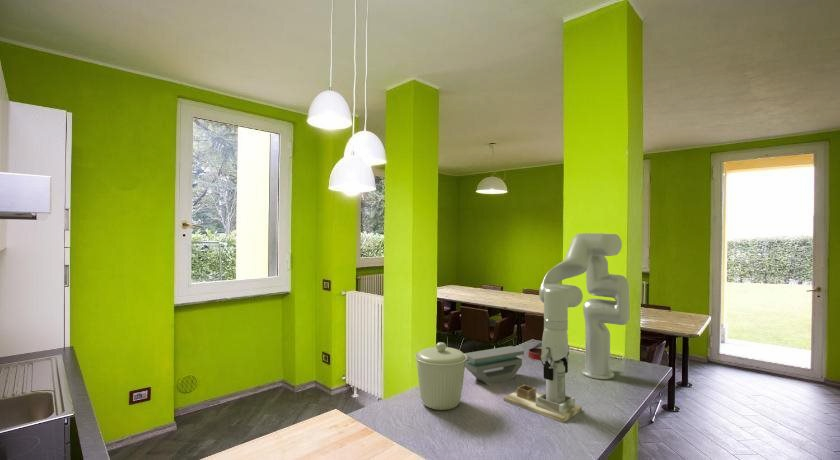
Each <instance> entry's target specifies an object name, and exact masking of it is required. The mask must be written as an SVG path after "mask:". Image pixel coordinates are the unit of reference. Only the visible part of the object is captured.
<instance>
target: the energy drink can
mask: <svg viewBox="0 0 840 460" xmlns="http://www.w3.org/2000/svg"><path fill="white" fill-rule="evenodd" d="M548 362H549V364H550V362H551V361H548ZM552 368H553V380H552V381H551V380H547V379H545V392H546V400H549V401H552V402H555V403H558V404H562V403H563V402H565V395H566V373H565V366H564V364H563V361H562V360H557V361H554V363H553V366H552Z"/></svg>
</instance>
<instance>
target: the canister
mask: <svg viewBox="0 0 840 460" xmlns="http://www.w3.org/2000/svg"><path fill="white" fill-rule="evenodd" d="M414 359H415V360H416V364H417V365H416V366H417V375H418V376H417V379H418V386H419V393H420V399H421V402H422V403H423V404H424V406H425V407H427V408H430V409H432V410H435V411H436V410H437V411H448V410H451V409H454V408H456V407H457V406H458V405H459V403H460V401H461V399H462V393H463V392H462V391H463V386H464V378H465V376H464V375H465V368H466V367H465V362H466V361H468V360H467V355H466V354H464V352H463V351H461V350H459V349H457V348H453V347H448V346H447V344H446V343H445V342H441V341H440V342H437V343H436V344H435V346H430V347H426V348H423V349H420V351H418V352H416V353H415V354H414Z"/></svg>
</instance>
